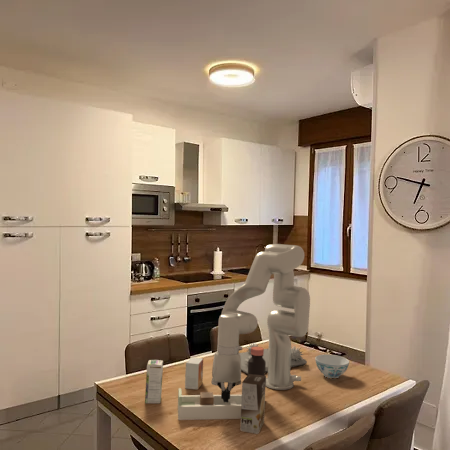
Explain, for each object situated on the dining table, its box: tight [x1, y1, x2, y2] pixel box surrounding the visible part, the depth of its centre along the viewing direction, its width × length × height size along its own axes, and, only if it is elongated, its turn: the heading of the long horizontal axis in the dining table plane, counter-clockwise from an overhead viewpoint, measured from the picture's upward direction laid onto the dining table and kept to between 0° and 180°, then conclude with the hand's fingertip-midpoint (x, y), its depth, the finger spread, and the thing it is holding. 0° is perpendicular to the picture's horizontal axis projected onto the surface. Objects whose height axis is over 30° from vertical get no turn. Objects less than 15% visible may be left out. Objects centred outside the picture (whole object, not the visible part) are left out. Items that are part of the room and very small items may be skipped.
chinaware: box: [314, 354, 350, 379], centre depth 193 cm, size 15×15×8 cm
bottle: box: [247, 346, 266, 376], centre depth 164 cm, size 7×7×20 cm
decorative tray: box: [239, 343, 308, 375], centre depth 208 cm, size 35×26×10 cm
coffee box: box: [239, 374, 267, 435], centre depth 142 cm, size 9×6×16 cm
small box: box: [184, 357, 204, 391], centre depth 176 cm, size 8×6×10 cm
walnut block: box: [199, 391, 214, 405], centre depth 151 cm, size 4×4×4 cm
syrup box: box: [144, 359, 164, 404], centre depth 160 cm, size 6×6×14 cm
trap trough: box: [177, 387, 242, 421], centre depth 152 cm, size 28×10×8 cm, turn 97°
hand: (225, 400), depth 152 cm, fingers closed
